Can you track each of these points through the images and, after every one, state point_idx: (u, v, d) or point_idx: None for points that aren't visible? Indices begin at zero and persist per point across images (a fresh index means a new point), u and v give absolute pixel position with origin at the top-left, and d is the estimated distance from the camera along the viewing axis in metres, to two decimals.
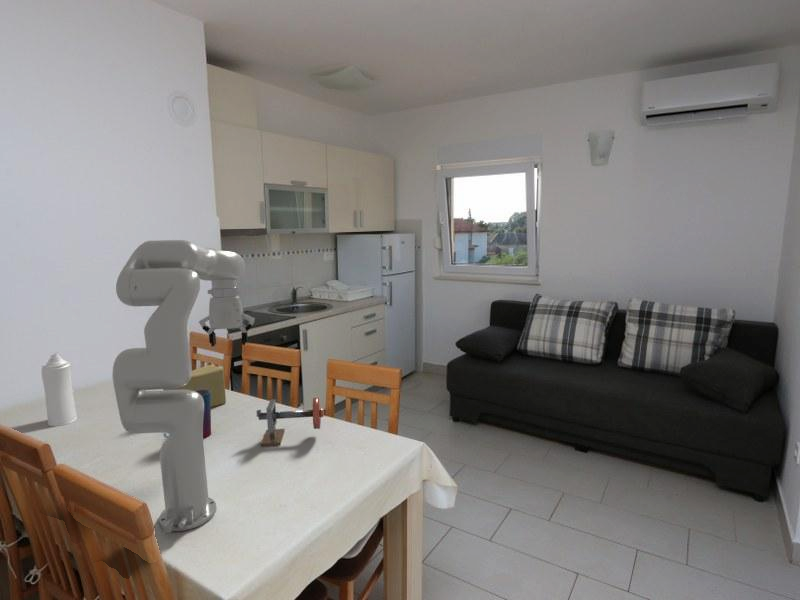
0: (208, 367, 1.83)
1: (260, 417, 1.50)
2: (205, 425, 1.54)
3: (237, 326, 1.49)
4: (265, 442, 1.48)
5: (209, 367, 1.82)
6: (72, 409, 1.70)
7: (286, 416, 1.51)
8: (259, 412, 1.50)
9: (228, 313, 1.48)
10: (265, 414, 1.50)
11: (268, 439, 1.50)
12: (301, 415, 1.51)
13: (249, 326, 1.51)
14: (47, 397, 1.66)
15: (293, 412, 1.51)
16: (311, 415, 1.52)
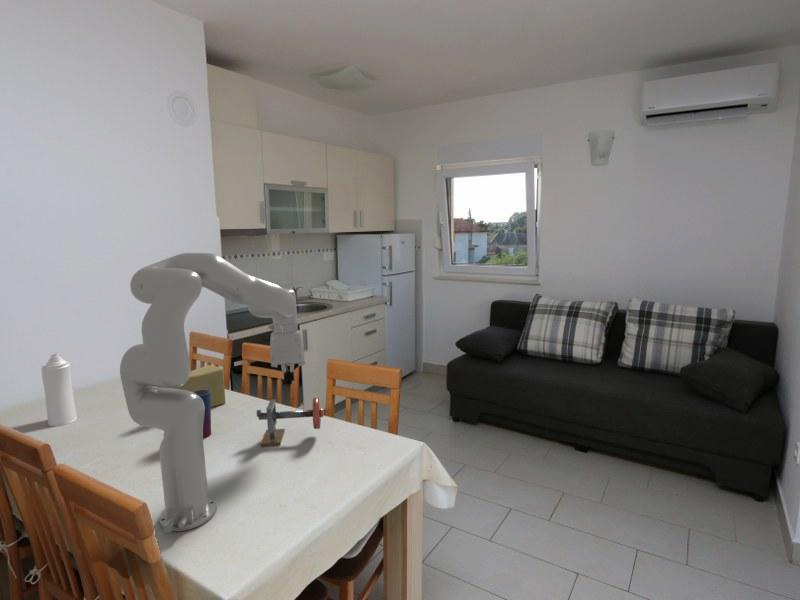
0: (207, 367, 1.83)
1: (260, 417, 1.50)
2: (205, 425, 1.54)
3: (298, 361, 1.47)
4: (265, 442, 1.48)
5: (208, 367, 1.82)
6: (72, 409, 1.70)
7: (286, 416, 1.51)
8: (259, 412, 1.50)
9: (290, 348, 1.46)
10: (265, 414, 1.50)
11: (268, 439, 1.50)
12: (301, 415, 1.51)
13: (296, 365, 1.49)
14: (47, 397, 1.66)
15: (293, 412, 1.51)
16: (311, 415, 1.52)
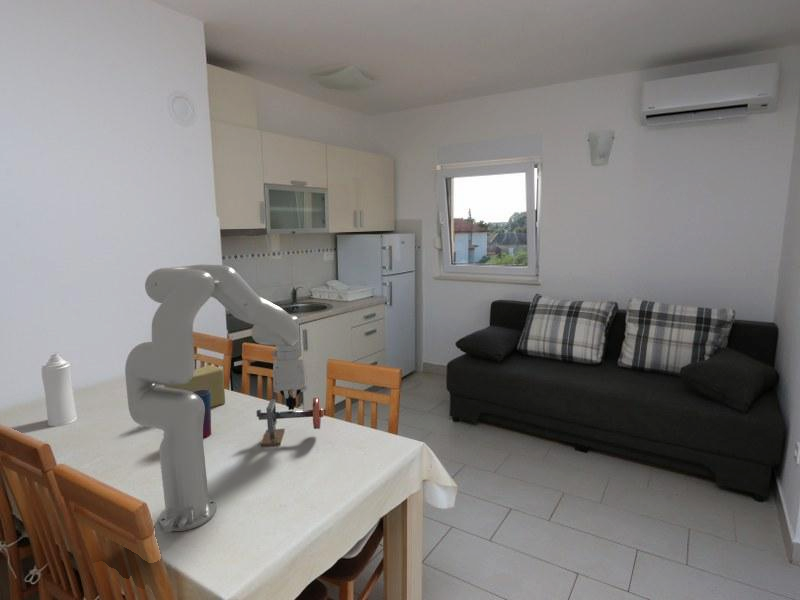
0: (207, 367, 1.82)
1: (260, 417, 1.50)
2: (205, 425, 1.54)
3: (301, 387, 1.48)
4: (265, 442, 1.48)
5: (208, 367, 1.82)
6: (72, 409, 1.70)
7: (286, 416, 1.51)
8: (259, 412, 1.50)
9: (293, 375, 1.47)
10: (265, 414, 1.50)
11: (268, 439, 1.50)
12: (301, 415, 1.51)
13: (298, 391, 1.50)
14: (47, 397, 1.66)
15: (293, 412, 1.51)
16: (311, 415, 1.52)
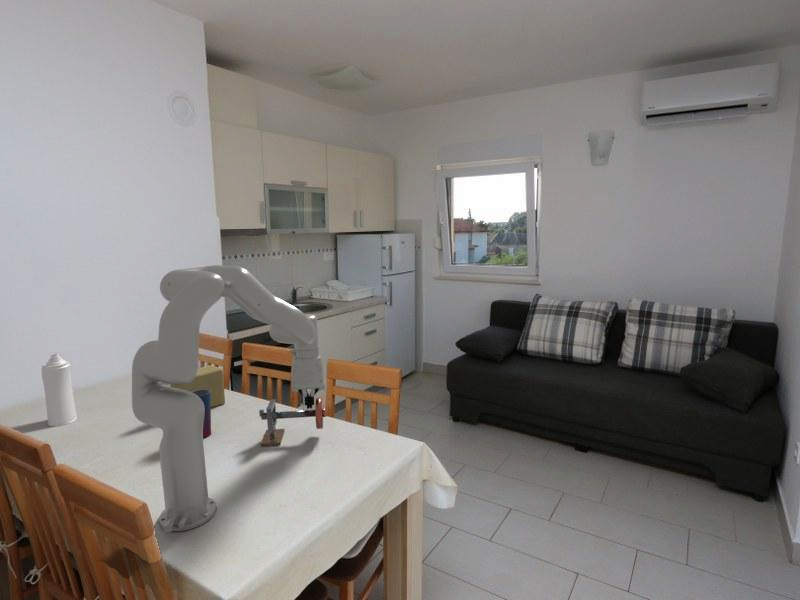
0: (207, 367, 1.82)
1: (263, 417, 1.50)
2: (205, 425, 1.54)
3: (319, 386, 1.49)
4: (265, 442, 1.48)
5: (208, 368, 1.82)
6: (72, 409, 1.70)
7: (289, 416, 1.51)
8: (262, 412, 1.50)
9: (311, 373, 1.48)
10: None
11: (268, 439, 1.50)
12: (304, 415, 1.51)
13: (316, 390, 1.51)
14: (47, 397, 1.66)
15: (296, 412, 1.52)
16: (314, 415, 1.52)
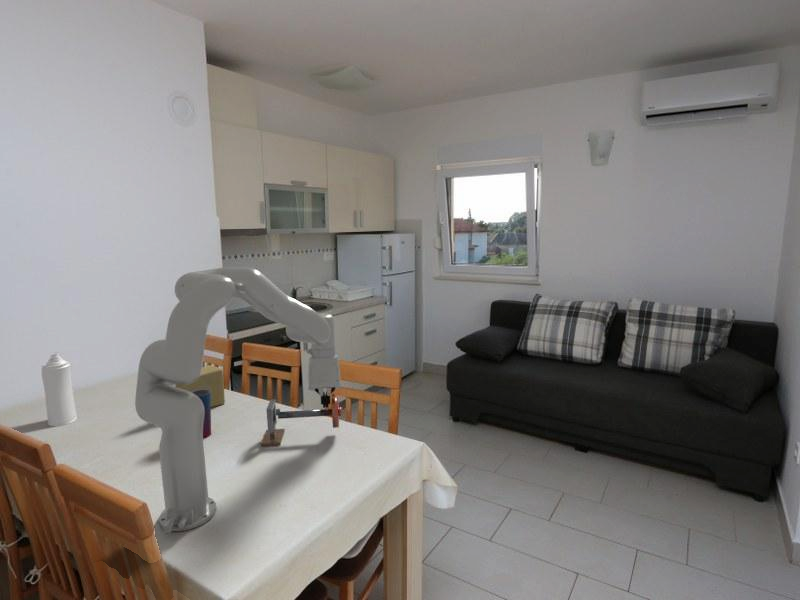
0: (207, 367, 1.82)
1: (279, 416, 1.51)
2: (205, 425, 1.54)
3: (336, 385, 1.49)
4: (265, 442, 1.48)
5: (208, 368, 1.82)
6: (72, 409, 1.70)
7: (305, 415, 1.52)
8: (278, 411, 1.51)
9: (328, 373, 1.48)
10: (284, 413, 1.51)
11: (268, 439, 1.50)
12: (320, 414, 1.52)
13: (333, 389, 1.51)
14: (47, 397, 1.66)
15: (312, 411, 1.52)
16: (330, 414, 1.52)
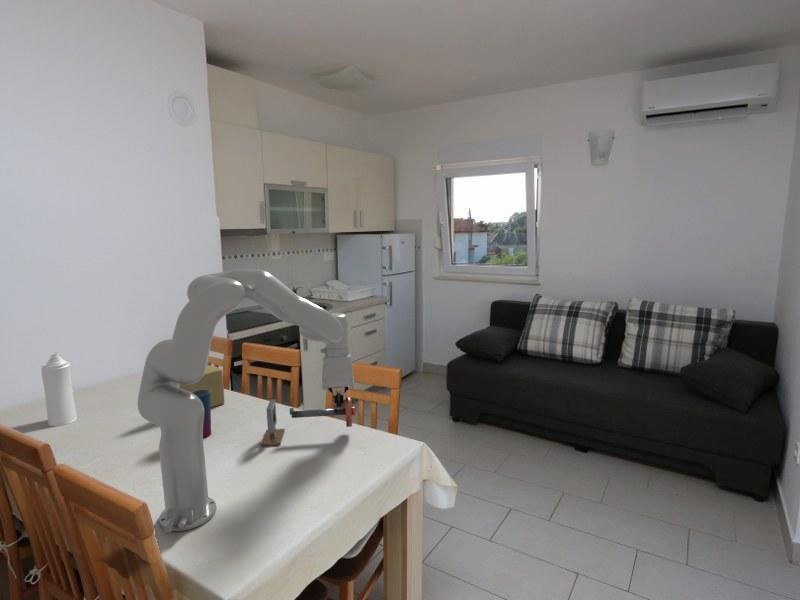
0: (206, 367, 1.82)
1: (293, 415, 1.51)
2: (205, 425, 1.54)
3: (349, 385, 1.50)
4: (265, 442, 1.48)
5: (207, 368, 1.81)
6: (72, 409, 1.70)
7: (319, 414, 1.52)
8: (292, 410, 1.51)
9: (341, 372, 1.49)
10: (298, 412, 1.52)
11: (268, 439, 1.50)
12: (333, 413, 1.52)
13: (346, 388, 1.52)
14: (47, 397, 1.66)
15: (326, 410, 1.53)
16: (343, 413, 1.53)
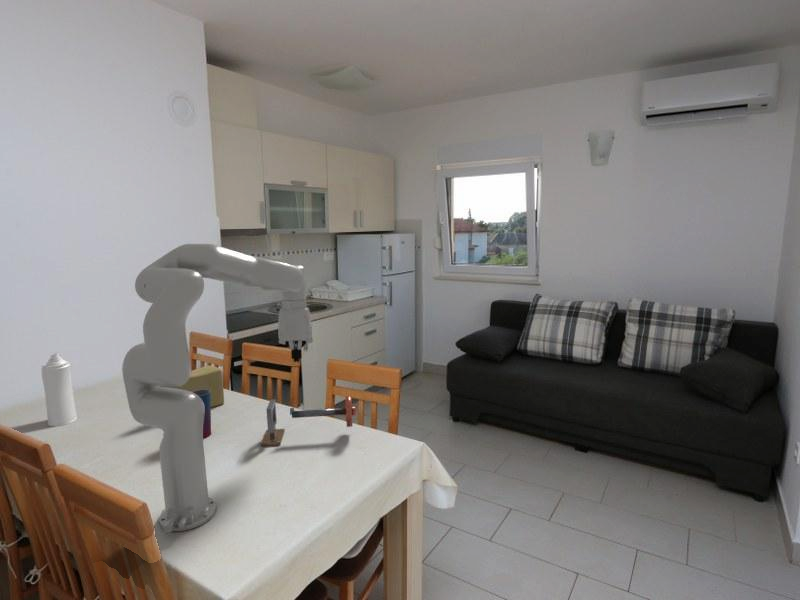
0: (206, 367, 1.82)
1: (293, 415, 1.51)
2: (205, 425, 1.54)
3: (306, 338, 1.46)
4: (265, 442, 1.48)
5: (207, 368, 1.81)
6: (72, 409, 1.70)
7: (319, 414, 1.52)
8: (292, 410, 1.51)
9: (298, 325, 1.45)
10: (298, 412, 1.52)
11: (268, 439, 1.50)
12: (334, 413, 1.52)
13: (304, 343, 1.48)
14: (47, 397, 1.66)
15: (326, 410, 1.53)
16: (344, 413, 1.53)
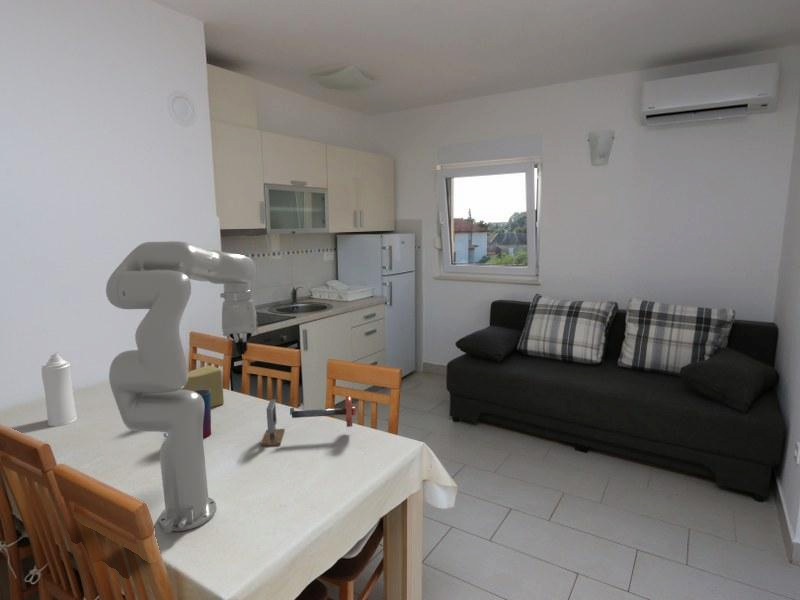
0: (206, 367, 1.82)
1: (293, 415, 1.51)
2: (205, 425, 1.54)
3: (250, 331, 1.45)
4: (265, 442, 1.48)
5: (207, 368, 1.81)
6: (72, 409, 1.70)
7: (319, 414, 1.52)
8: (292, 410, 1.51)
9: (242, 317, 1.44)
10: (298, 412, 1.52)
11: (268, 439, 1.50)
12: (334, 413, 1.52)
13: (249, 335, 1.47)
14: (47, 397, 1.66)
15: (326, 410, 1.53)
16: (344, 413, 1.53)
